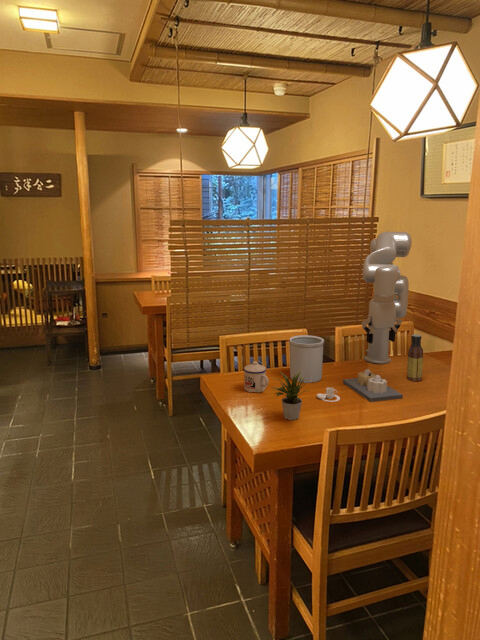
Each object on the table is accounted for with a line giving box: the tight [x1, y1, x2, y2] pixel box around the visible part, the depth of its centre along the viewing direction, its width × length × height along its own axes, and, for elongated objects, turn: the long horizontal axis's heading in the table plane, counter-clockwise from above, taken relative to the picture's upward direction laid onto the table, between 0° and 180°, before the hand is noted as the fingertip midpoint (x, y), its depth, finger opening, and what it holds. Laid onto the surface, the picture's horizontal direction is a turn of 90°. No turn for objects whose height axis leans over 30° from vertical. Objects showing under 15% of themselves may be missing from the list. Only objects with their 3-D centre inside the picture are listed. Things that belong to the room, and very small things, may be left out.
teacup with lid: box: [243, 361, 270, 393], centre depth 184 cm, size 12×9×12 cm
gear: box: [367, 377, 388, 393], centre depth 182 cm, size 7×7×4 cm
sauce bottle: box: [406, 333, 424, 382], centre depth 197 cm, size 7×6×20 cm
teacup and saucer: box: [316, 387, 341, 403], centre depth 178 cm, size 9×8×4 cm
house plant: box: [272, 371, 311, 421], centre depth 160 cm, size 14×14×16 cm
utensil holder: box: [289, 334, 325, 384], centre depth 199 cm, size 15×15×18 cm
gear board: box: [342, 368, 404, 403], centre depth 185 cm, size 22×14×8 cm, turn 15°
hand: (380, 341), depth 180 cm, fingers open, 9 cm apart
